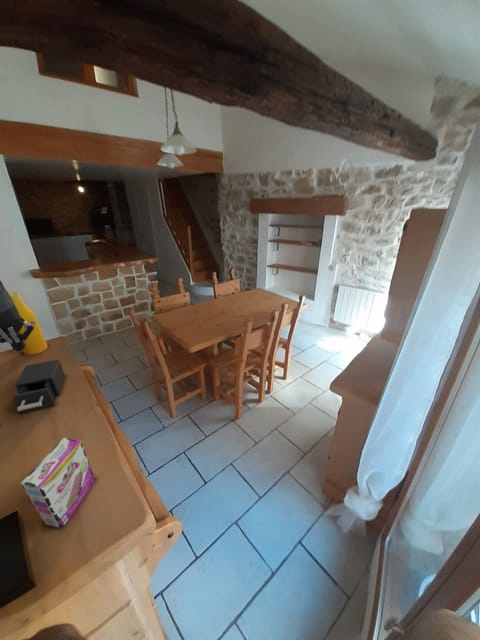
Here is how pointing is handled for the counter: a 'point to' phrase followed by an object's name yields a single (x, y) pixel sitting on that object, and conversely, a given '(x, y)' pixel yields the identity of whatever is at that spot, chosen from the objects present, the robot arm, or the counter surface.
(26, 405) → the drawer
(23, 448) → the counter surface
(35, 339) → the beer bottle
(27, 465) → the counter surface
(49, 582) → the counter surface
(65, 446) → the candy bar box
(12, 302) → the robot arm
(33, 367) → the dark grey cabinet
